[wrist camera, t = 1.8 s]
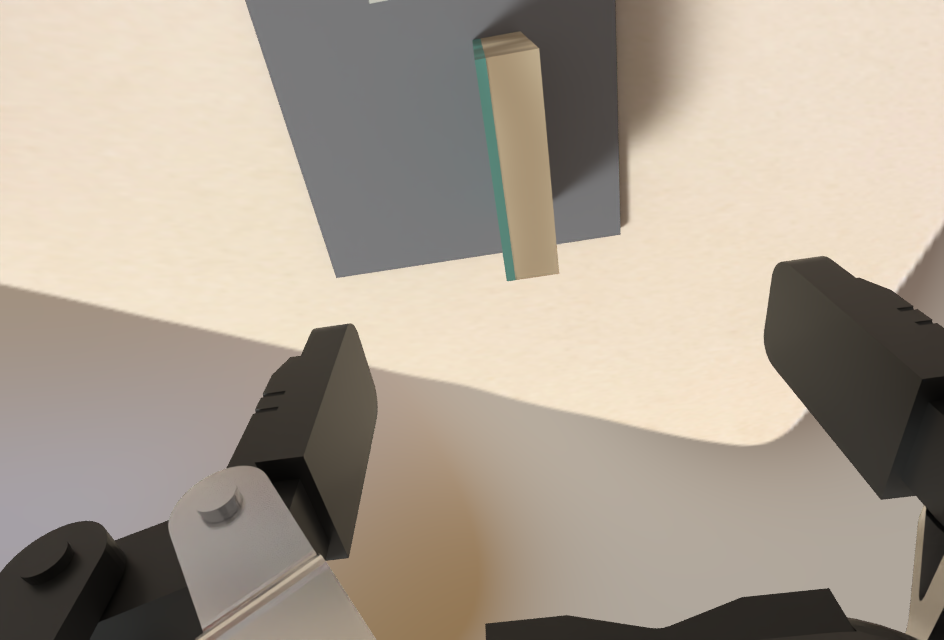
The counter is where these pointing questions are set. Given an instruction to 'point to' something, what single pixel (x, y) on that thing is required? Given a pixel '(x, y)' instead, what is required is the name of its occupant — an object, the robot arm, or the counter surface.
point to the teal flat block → (518, 152)
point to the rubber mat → (436, 120)
